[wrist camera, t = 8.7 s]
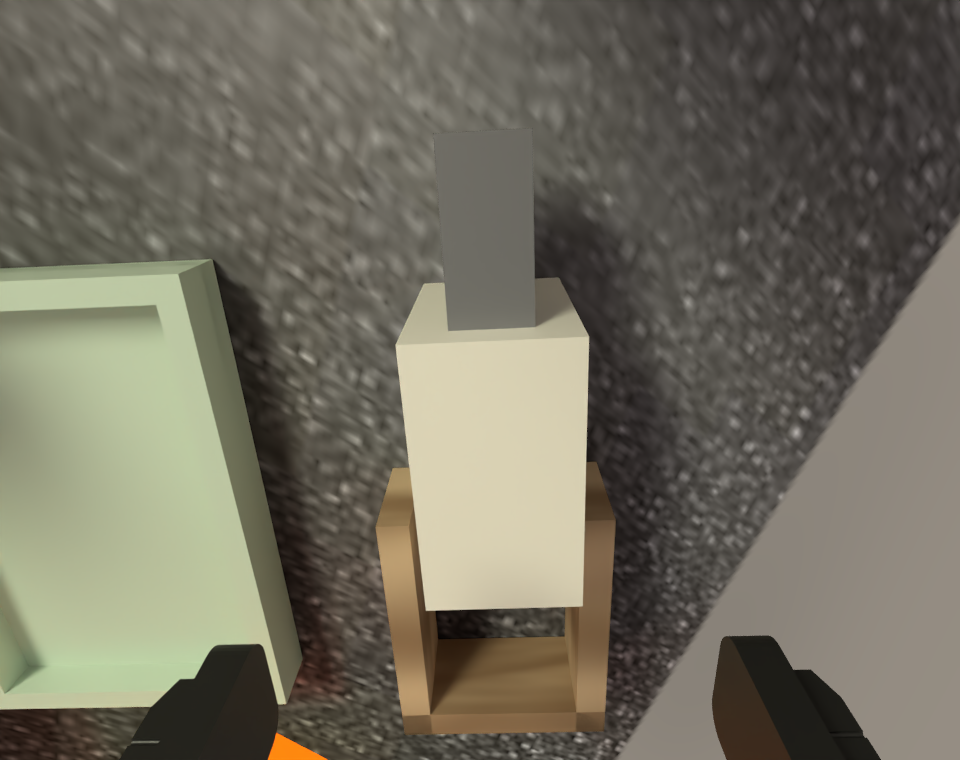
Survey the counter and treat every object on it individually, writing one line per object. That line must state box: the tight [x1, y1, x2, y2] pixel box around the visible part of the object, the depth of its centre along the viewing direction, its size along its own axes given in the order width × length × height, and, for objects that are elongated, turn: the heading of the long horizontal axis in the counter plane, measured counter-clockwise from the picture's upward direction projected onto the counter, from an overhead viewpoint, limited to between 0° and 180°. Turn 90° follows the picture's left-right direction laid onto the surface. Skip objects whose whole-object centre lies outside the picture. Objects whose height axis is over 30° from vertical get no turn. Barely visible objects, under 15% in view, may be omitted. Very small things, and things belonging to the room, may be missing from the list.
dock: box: [376, 462, 616, 735], centre depth 24 cm, size 11×9×4 cm
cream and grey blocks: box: [396, 128, 589, 611], centre depth 19 cm, size 14×5×7 cm, turn 3°
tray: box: [0, 259, 303, 709], centre depth 24 cm, size 20×14×2 cm
